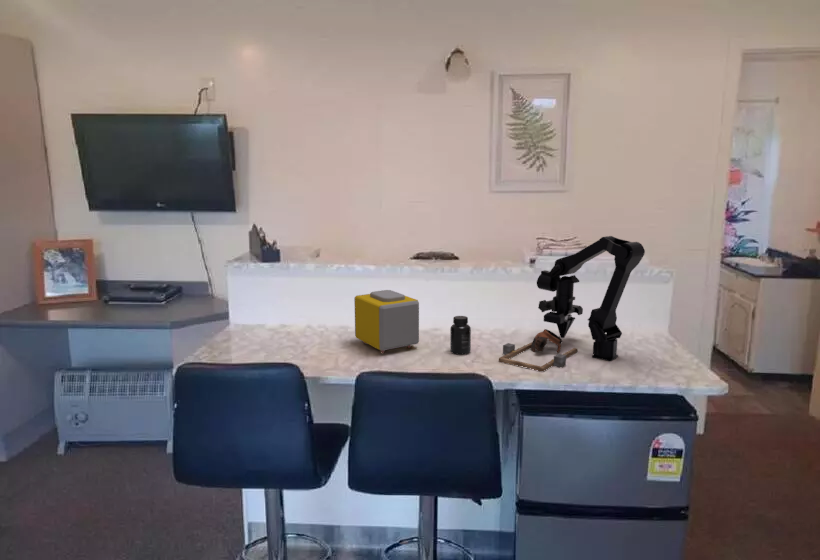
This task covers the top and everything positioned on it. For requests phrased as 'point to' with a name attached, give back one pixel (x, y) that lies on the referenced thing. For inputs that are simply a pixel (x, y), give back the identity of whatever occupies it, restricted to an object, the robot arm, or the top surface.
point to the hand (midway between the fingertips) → (562, 337)
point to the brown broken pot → (545, 340)
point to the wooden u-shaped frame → (510, 352)
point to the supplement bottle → (460, 336)
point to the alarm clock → (386, 319)
